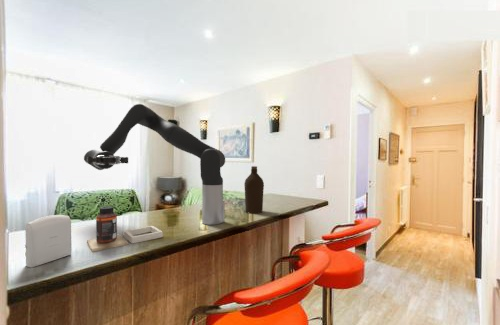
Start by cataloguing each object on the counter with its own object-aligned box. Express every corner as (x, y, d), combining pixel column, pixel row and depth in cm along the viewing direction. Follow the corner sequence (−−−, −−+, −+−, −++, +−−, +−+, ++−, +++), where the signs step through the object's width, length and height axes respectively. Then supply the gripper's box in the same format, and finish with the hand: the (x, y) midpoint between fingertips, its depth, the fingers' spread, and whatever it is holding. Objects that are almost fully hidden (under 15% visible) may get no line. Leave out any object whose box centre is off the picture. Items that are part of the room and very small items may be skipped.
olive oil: (252, 214, 125) (253, 166, 125) (240, 211, 134) (240, 166, 133) (267, 212, 132) (267, 166, 132) (255, 209, 140) (255, 166, 140)
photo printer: (30, 269, 62) (31, 220, 62) (22, 266, 64) (22, 219, 63) (74, 254, 71) (74, 213, 71) (65, 252, 73) (65, 211, 73)
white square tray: (152, 230, 96) (152, 225, 96) (162, 237, 88) (162, 231, 88) (123, 235, 89) (123, 230, 89) (131, 243, 81) (131, 237, 81)
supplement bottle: (120, 240, 82) (120, 206, 82) (101, 245, 77) (101, 209, 77) (111, 237, 85) (111, 205, 85) (92, 241, 80) (92, 207, 80)
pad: (119, 236, 88) (119, 234, 88) (127, 244, 80) (127, 242, 80) (86, 242, 82) (86, 240, 82) (92, 251, 74) (92, 249, 74)
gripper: (83, 150, 101) (90, 149, 89) (121, 151, 110) (131, 151, 98) (83, 168, 101) (90, 170, 89) (121, 168, 110) (131, 169, 98)
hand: (111, 160), depth 93 cm, fingers open, 8 cm apart
